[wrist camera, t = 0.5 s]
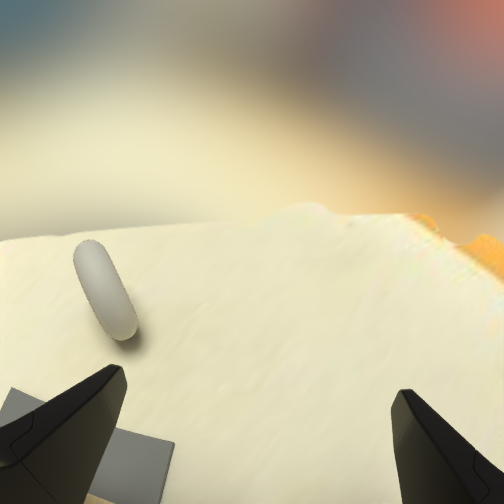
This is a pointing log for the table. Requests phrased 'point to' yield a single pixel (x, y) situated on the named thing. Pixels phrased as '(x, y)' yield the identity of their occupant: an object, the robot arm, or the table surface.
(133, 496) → the rubber mat
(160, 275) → the table surface
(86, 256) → the donut
